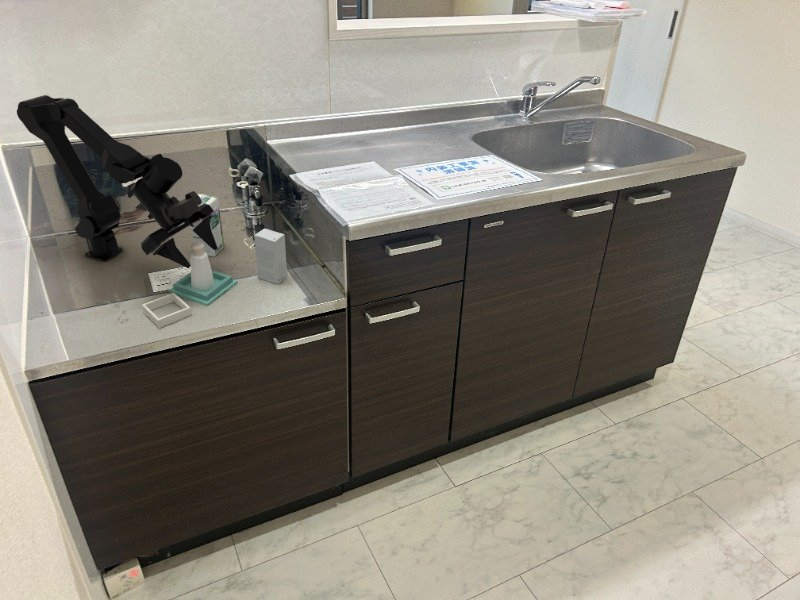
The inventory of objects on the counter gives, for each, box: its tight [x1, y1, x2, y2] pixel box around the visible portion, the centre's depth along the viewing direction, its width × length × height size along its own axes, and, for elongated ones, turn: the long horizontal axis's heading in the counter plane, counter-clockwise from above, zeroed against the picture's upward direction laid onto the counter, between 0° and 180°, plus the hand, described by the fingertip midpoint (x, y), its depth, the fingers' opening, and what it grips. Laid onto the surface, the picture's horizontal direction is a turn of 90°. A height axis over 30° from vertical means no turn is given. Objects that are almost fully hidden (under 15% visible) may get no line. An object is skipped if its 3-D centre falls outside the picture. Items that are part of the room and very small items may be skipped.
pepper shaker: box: [190, 242, 215, 291], centre depth 139 cm, size 5×5×11 cm
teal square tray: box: [168, 269, 238, 307], centre depth 142 cm, size 11×11×2 cm
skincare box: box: [253, 228, 288, 285], centre depth 145 cm, size 6×4×12 cm
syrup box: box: [189, 193, 225, 258], centre depth 153 cm, size 6×6×14 cm
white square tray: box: [141, 293, 192, 329], centre depth 133 cm, size 8×8×2 cm
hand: (203, 258), depth 138 cm, fingers open, 9 cm apart
